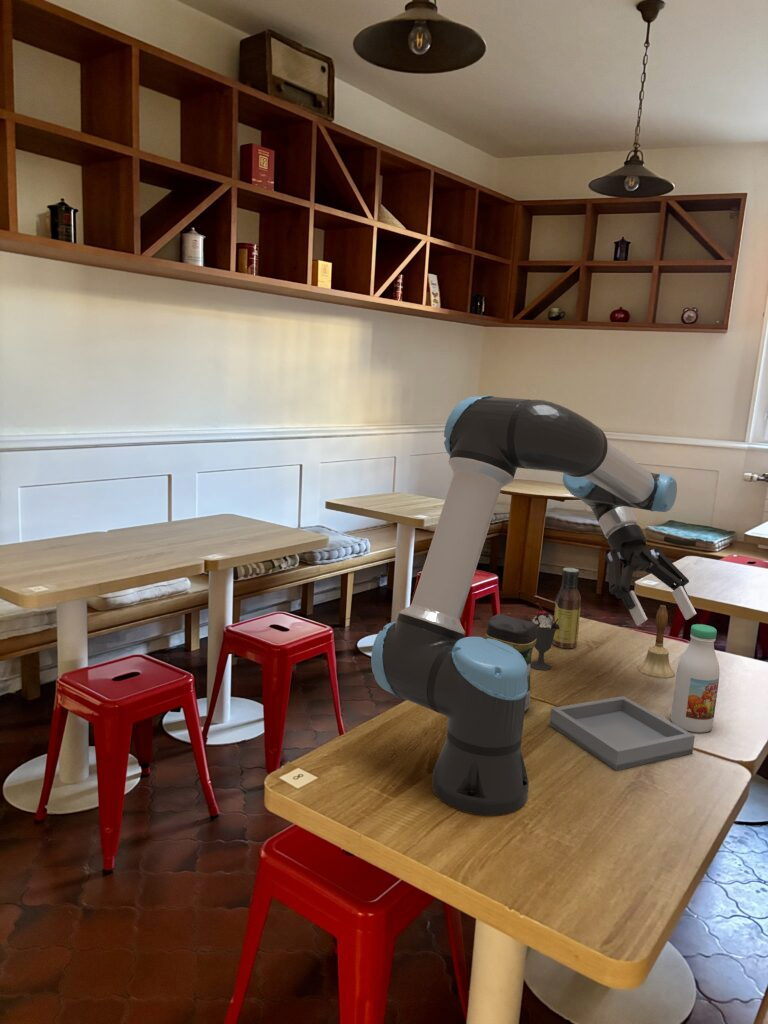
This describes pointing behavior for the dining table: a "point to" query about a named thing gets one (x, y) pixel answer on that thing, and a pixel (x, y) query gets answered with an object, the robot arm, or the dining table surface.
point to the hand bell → (658, 651)
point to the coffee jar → (515, 639)
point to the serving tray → (621, 732)
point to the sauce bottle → (567, 610)
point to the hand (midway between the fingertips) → (667, 619)
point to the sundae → (543, 637)
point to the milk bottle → (696, 682)
